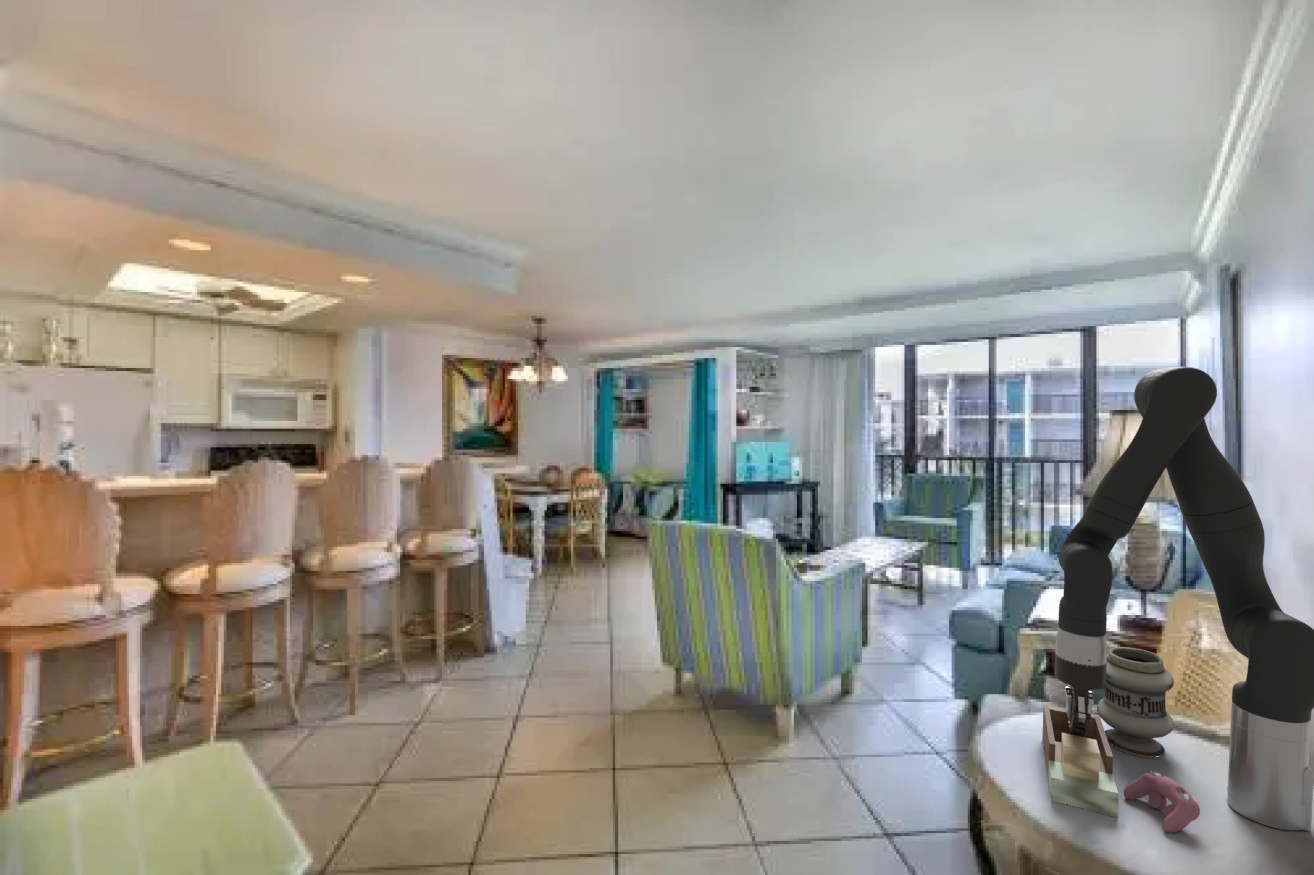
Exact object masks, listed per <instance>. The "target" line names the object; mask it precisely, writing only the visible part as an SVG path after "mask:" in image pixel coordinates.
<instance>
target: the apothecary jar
mask: <svg viewBox="0 0 1314 875" xmlns="http://www.w3.org/2000/svg"><path fill="white" fill-rule="evenodd" d="M1174 684H1175V679H1174V677H1173V674H1171V672H1170V671H1168V670H1167V668H1165V665H1164V660H1163V658H1162V657H1161V656H1160V655H1158V654H1156V653H1155V652H1152V651H1148V650H1144V649H1141V648H1134V647H1125V646H1117V647H1112V648H1110V649H1109V651H1108V654H1107V666H1106V685H1105V686H1104V697H1102V698H1101V699H1100V700H1099V701H1098V702H1097V705H1096V711H1097V714H1098V715H1099V716H1100V719H1101V720H1103V722H1104V723H1106V725H1108V726H1110V728H1109V729H1106V730H1104V731H1105V734H1106V737H1107V740H1108V743H1109V745H1112V747H1114V748H1115V749H1117V750H1119V751H1121V752H1123V753H1127V754H1130V755H1133V756H1137V757H1141V758H1142V757H1143V758H1149V757H1155V758H1157V757H1156V756H1160V757H1162V755H1163V756H1164V755H1165V754H1166V749H1165V747H1164V746H1163V744H1161V743H1160V742H1159V741H1157V740H1156V739H1158V738H1163V737H1166V736H1168V735H1169V734H1171V733H1172V731H1173V730H1174V727H1175V724H1174V720H1173V718H1172V716H1171V715H1170V713H1169V712H1168V711H1167V710H1166V709H1167V708H1166V707H1167V706H1166V694H1167V693H1166V692H1168V691H1170V690H1171V689H1173V687H1174ZM1164 753H1165V754H1164Z"/></svg>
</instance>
